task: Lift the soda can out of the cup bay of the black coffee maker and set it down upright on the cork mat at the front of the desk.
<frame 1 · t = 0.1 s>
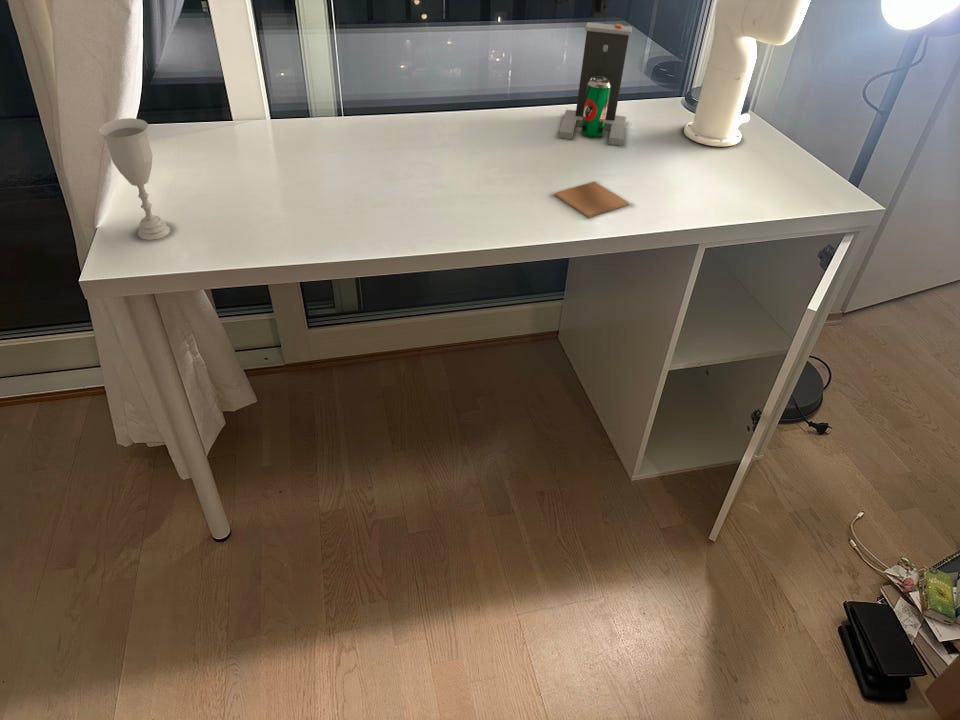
hand: (579, 9, 120), 31 cm above the table, tool pointing down, fingers open, 9 cm apart
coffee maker: (592, 129, 160), on the table
mat: (591, 200, 134), on the table
soda can: (591, 134, 158), on the table
chalice: (154, 232, 118), on the table
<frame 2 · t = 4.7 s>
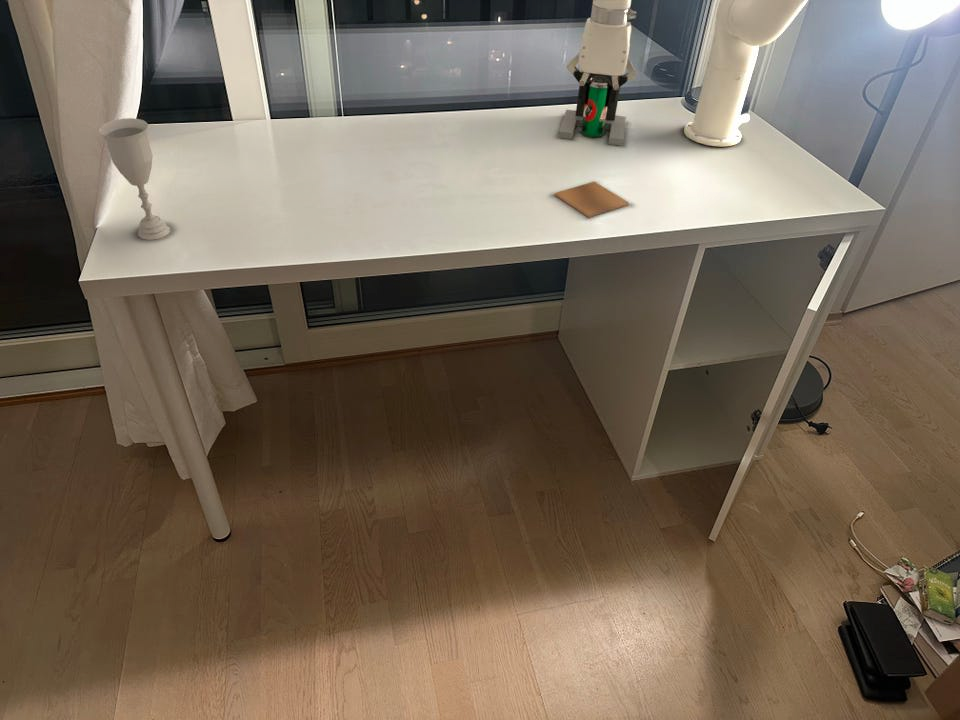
hand: (596, 103, 154), 7 cm above the table, tool pointing down, fingers closed on soda can, 5 cm apart
soda can: (591, 134, 158), on the table, touching gripper
everything else where it was.
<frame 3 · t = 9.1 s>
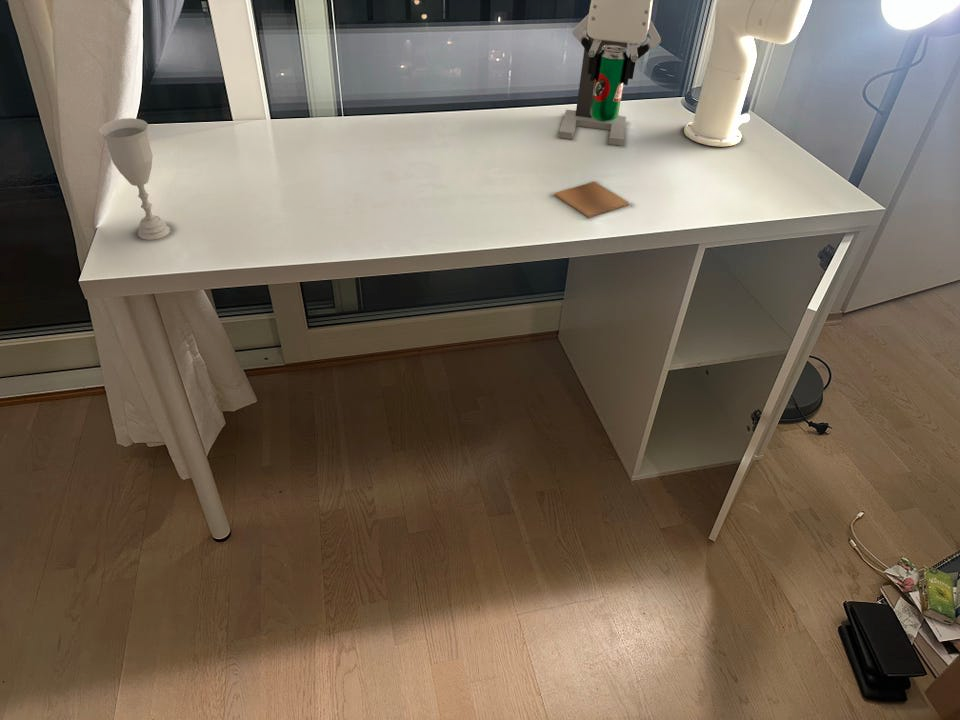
hand: (609, 79, 123), 21 cm above the table, tool pointing down, fingers closed on soda can, 5 cm apart
soda can: (603, 118, 128), point 14 cm above the table, touching gripper
everything else where it was.
when the fingers open (7 cm above the table, at t = 13.7 s): soda can stays where it is, resting on mat.
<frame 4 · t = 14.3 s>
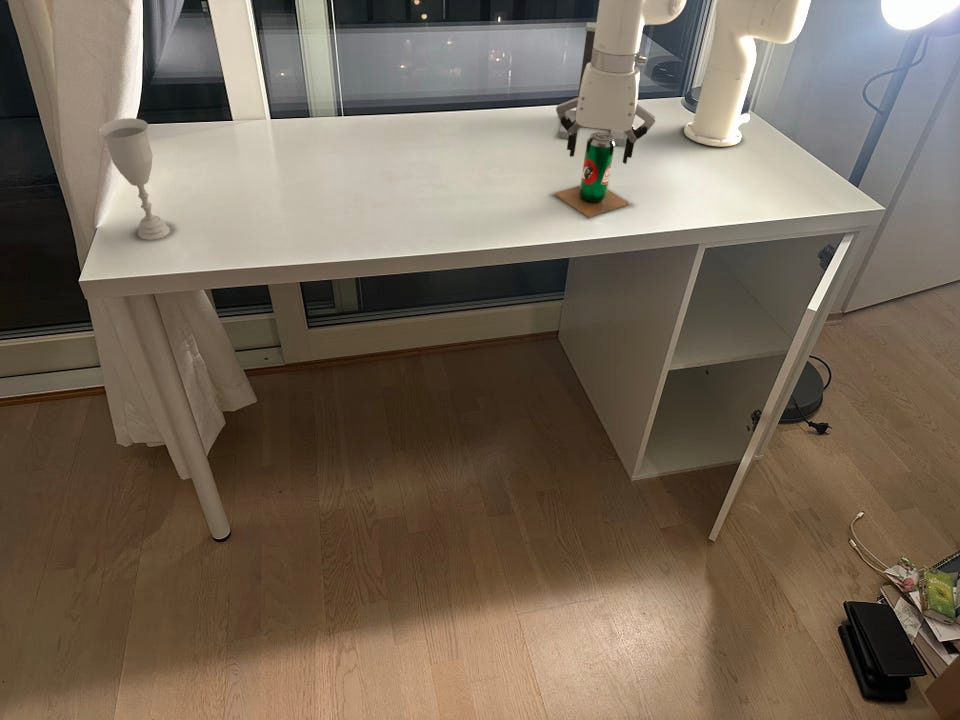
hand: (598, 157, 128), 9 cm above the table, tool pointing down, fingers open, 9 cm apart
soda can: (591, 198, 134), resting on mat
everything else where it was.
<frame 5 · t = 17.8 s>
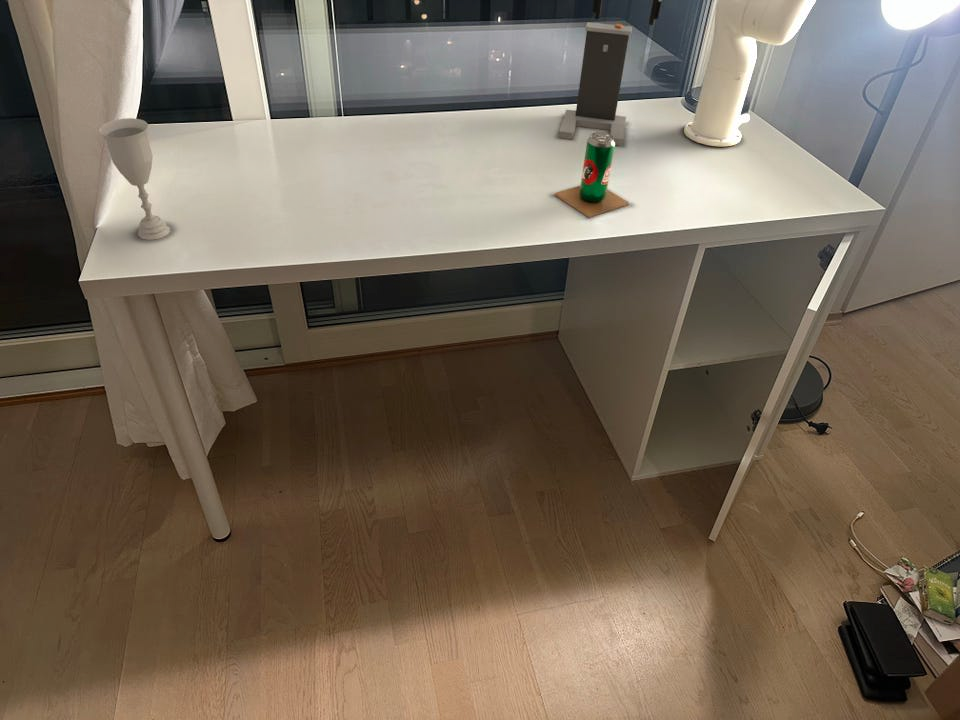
hand: (624, 20, 127), 28 cm above the table, tool pointing down, fingers open, 9 cm apart
nothing on the table moved.
at the end: soda can 0.1 cm off-centre on the mat, point 0.3 cm above the mat's base; soda can tilted 0°; the gripper is holding nothing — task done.
